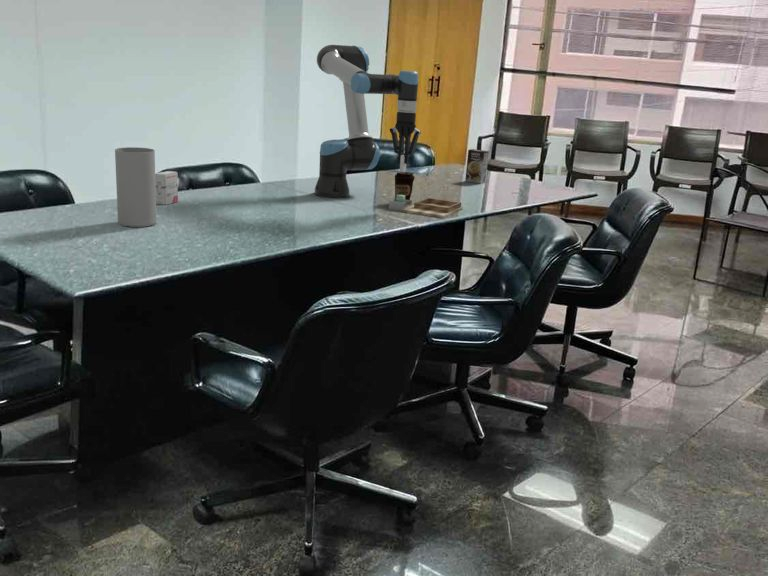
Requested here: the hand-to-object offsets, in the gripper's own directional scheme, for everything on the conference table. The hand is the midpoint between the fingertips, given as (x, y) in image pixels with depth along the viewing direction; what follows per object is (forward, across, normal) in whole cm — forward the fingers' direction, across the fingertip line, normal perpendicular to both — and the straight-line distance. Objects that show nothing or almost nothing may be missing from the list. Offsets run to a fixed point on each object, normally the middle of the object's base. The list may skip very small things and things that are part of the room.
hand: (402, 171), depth 309 cm
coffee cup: (+15, -4, +12) cm, 20 cm away
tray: (+15, +12, +6) cm, 20 cm away
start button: (+13, 0, 0) cm, 13 cm away
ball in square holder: (+15, 0, 0) cm, 15 cm away
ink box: (+15, -76, -52) cm, 93 cm away
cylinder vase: (+16, -60, -86) cm, 106 cm away
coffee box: (+15, +2, +91) cm, 92 cm away
